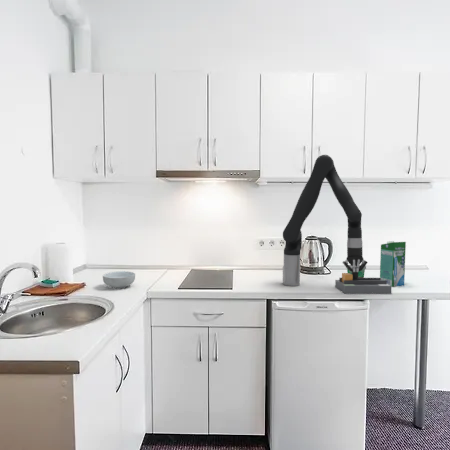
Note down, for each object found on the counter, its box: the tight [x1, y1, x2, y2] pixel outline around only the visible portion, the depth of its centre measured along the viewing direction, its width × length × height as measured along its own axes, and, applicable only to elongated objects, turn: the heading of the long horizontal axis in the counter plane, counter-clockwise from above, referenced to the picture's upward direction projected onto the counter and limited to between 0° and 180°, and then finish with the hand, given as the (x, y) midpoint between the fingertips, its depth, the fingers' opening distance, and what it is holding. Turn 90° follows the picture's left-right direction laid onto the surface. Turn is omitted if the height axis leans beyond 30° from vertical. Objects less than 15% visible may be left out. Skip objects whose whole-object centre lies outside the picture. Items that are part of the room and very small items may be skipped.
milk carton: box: [379, 240, 407, 287], centre depth 189 cm, size 9×9×25 cm
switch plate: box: [334, 277, 392, 295], centre depth 175 cm, size 24×14×6 cm, turn 90°
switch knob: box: [341, 272, 353, 282], centre depth 175 cm, size 4×4×4 cm
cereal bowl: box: [102, 270, 136, 290], centre depth 181 cm, size 17×17×7 cm
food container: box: [346, 264, 367, 278], centre depth 195 cm, size 12×6×10 cm, turn 105°
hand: (355, 278), depth 175 cm, fingers closed
